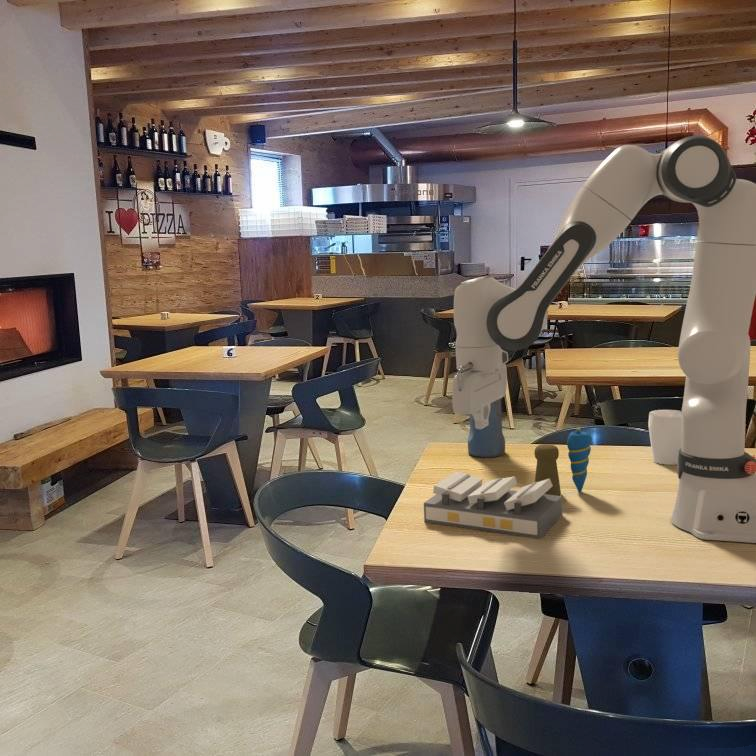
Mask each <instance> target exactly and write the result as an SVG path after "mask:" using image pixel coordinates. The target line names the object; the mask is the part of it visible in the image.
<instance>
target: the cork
mask: <svg viewBox="0 0 756 756" xmlns="http://www.w3.org/2000/svg"><path fill="white" fill-rule="evenodd" d="M533 452H534V453H533V455H534V458H535V459H536V467H535V474H534V482H540V481H543V480H546V479H549V478H550V480H551V483H552V485H553V486H552V487H551V488H550V489H549V490H548V491H547V492H546V493H545V494H548V495H556V496H562V491H561V485H560V476H559V471H558V464H557V460H558V458H559V454H560V451H559V449H558V446H556V445H554V444H549V443H543V444H538V445H537V446H536V447H535V449H534V451H533Z"/></svg>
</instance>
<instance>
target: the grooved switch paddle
mask: <svg viewBox="0 0 756 756" xmlns="http://www.w3.org/2000/svg"><path fill="white" fill-rule="evenodd" d="M483 480H484V479H483V478H481V477H478V476H474V475H471V474H469V473H464V472H461V471H458V470H455V472H453V473H451V474H449V475H448V476H447V477H445V478H444V479H442V480H440V481H439V482H437V483H436V484H435V485H433V489H432V490H433V491H432V492H433V494H434V495H436V494H438V495H441V496H442V493H447V494H449V498H450V499H453V500H456V501H459V502H461V501H462V500H463V499H465V498H466V497H467V496H468V495H470V494H471V493H472V492H474V491H475V490H477V489H478V488H479V487H481V486H482V485H483Z"/></svg>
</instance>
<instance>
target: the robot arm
mask: <svg viewBox="0 0 756 756" xmlns="http://www.w3.org/2000/svg"><path fill="white" fill-rule="evenodd" d="M656 196H657V197H660V198H664V199H666V200H670V201H672V202H679V203H685V204H686V203H687V204H689V203H691V204H692V205H693V206H694V207H695V209H696V211H697V213H698V223H699V224H698V231H697V236H696V244H695V252H694V260H693V266H692V267H693V268H692V275H691V282H690V288H689V292H688V296H687V301H686V306H685V311H684V314H683V315H684V316H683V320H682V325H681V331H680V336H679V342H678V349H677V361H678V366H679V367H680V369H681V371H682V372H683V374H684V375H685V383H684V392H683V399H682V400H683V401H682V407H681V411H682V425H681V448H680V450H679V454H678V464H677V476H678V479H679V480H678V487H677V493H676V498H675V503H674V508H673V511H672V514H671V516H670V522H671V523H672V524H673V525H674V526H676V527H677V528H678V529H681V530H683V531H686V532H689V533H691V534H692V535H694V536H695V537H696V538H697V539H700V540H707V541H724V542H734V543H736V542H737V543H738V542H739V543H751V544H756V456H755V454H752V455H751V454H749V453H748V452H746V451H745V449H746V448H745V444H746V443H745V442H746V441H745V440H746V420H747V419H746V416H747V415H746V414H747V413H746V412H747V402H748V390H749V389H748V388H749V379H750V378H749V375H750V362H751V338H750V335H749V331H750V326H751V319H752V315H753V309H754V304H755V300H756V183H755V182H752V181H751V180H747V179H741V178H737V175H736V173H735V171H734V169H733V167H732V164H731V162H730V159H729V157H728V155H727V152H726V151H725V149H724V148H723V147H722V145H720V143H719V142H718V141H716V140H714V139H713V138H711V137H708V136H704V135H690V136H686V137H684V138H682V139H679V140H677V141H675V142H674V143H672V144H670V146H669V147H667V148H665V149H664V150H662V151H661V152H659V153H652V152H649V151H648V150H646V149H645V148H643V147H641V146H638V145H634V144H633V145H631V144H626V145H625V144H624V145H622V146H619V147H617V148H616V149H614V150H613V151H612V152H611V153H610V154H609V155H608V156H607V157H606V158H605V159H604V160H603V161H602V162H601V163H600V164H599V165H598V166H597V167H596V168H595V169H594V171H593V172H592V173H591V175H590V176H589V177H588V178H587V179H586V180H585V182H584V183H583V185H582V186H581V187H580V188H579V190H578V192H577V193H576V194H575V196H574V198H573V199H572V200H571V202H570V203H569V204H570V205H568V207H567V209H566V212H565V213H564V216H563V217H562V220H561V222H560V224H559V227H558V229H557V231H556V234H555V235H554V238H553V239H552V241H551V244H550V246H549V247H548V249H547V250H546V252H545V253H544V255H543V256H541V258H540V259H539V261H538V262H537V263H536V265H535V266H533V267H534V268H533V269H532V270H531V271H530V272H529V274H528V275H527V276H526V278H525V279H524V280H523V281H522V283H521V284H520V285H519V286H518V287H517V288H514V287H511V286H510V285H507V284H504V283H502V282H500V281H498V280H497V279H496V278H494V277H493V276H489V275H484V276H479V277H477V278H471V279H467V280H465V281H462V282H460V283H459V284H458V285H457V287H456V288H455V290H454V296H453V324H454V328H455V331H456V340H455V347H454V348H455V359H456V360H455V361H456V362H455V363H456V364H455V365H456V370H457V373H456V375H454V376H453V380H452V394H451V399H452V402H451V403H452V410H453V412H454V414H455V415H469V416H470V414H472V416H473V418H474V420H475V428H476V429H483V428H485V427H486V426H488V425H489V421H488V417H489V413H490V409H491V406H490V403H492V402H494V401H496V400H498V399H500V398H501V399H502V398H503V397H505V396H506V393H507V387H508V386H507V385H508V381H507V380H508V376H507V375H508V372H507V371H508V369H507V366H506V364H507V363H508V362H509V354H508V351H515V352H516V351H521V350H522V351H523V350H525V349H527V348H528V347H531V346H532V345H533V344H534V343H535V342H536V341H537V340H538V338H539V336H540V334H541V333H542V331H543V330H544V328H545V327H546V325H547V322H548V319H549V313H548V312H549V311H548V309H549V307H550V306H551V304H552V302H553V301H554V300H555V298H556V297H557V296H558V295H559V294H560V293H561V291H562V289H563V288H564V287H565V286H566V284H567V283H568V282H569V281H570V279H571V278H572V277H573V275H574V274H575V273H576V272H577V270H579V268H581V267H582V266H583V265H584V264H585V263H586V262H587V261H589V260H590V259H592V258H593V257H595V256H596V255H598V254H599V253H600V252H602V251H603V250H605V249H606V248H607V247H608V246H610V245H611V244H612V243H613V242H614V241H615V240H616V239H617V238H618V237H619V236H620V235H621V234H622V233H623V232H624V231H625V230H626V229H627V227H628V226H629V225H630V224H631V223H632V221H633V220H634V218H635V217H636V216H637V214H638V213H639V212H640V210H641V209H642V208H643V207H644V205H646V204H647V202H648V201H650V200H651V199H653V198H654V197H656ZM504 349H505V350H504ZM506 350H508V351H506Z"/></svg>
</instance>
